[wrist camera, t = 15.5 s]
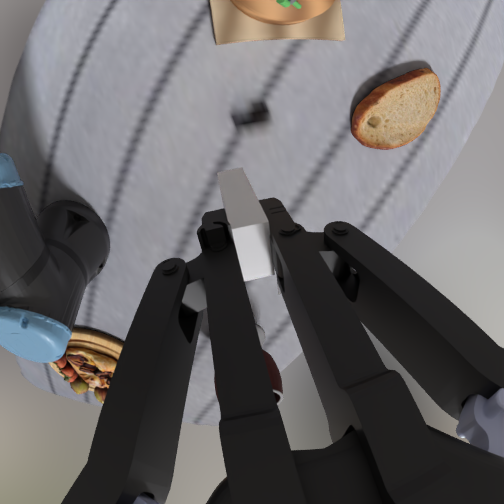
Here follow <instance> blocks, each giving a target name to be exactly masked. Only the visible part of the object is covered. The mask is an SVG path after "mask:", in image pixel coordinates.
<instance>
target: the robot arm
mask: <svg viewBox="0 0 504 504" xmlns="http://www.w3.org/2000/svg"><path fill="white" fill-rule="evenodd" d="M217 175H218V180H219V185H220V190H221V195H222V200H223V205H224V209H219V210H215V211H210V212H206V213H205V214H204V216H203V217H202V225H201V226H200V227H199V228H198V230H197V235H198V239H199V242H200V246H201V249H202V253H201V254H200V255H199V256H198V257H196V258H195V259H193V260H191V261H189V262H187V263H185V261H184V260H182V259H180V258H171V259H167V260H165V261H163V262H161V263H160V264H159V265H157V267H156V268H155V270H154V272H153V274H152V276H151V279H150V281H149V283H148V285H147V288H146V290H145V292H144V295H143V297H142V299H141V302H140V304H139V307H138V309H137V312H136V314H135V316H134V319H133V321H132V324H131V327H130V329H129V332H128V334H127V337H126V339H125V342H124V345H123V347H122V350H121V353H120V356H119V358H118V361H117V364H116V367H115V370H114V373H113V376H112V378H111V381H110V384H109V388H108V391H107V394H106V397H105V400H104V403H103V406H102V410H101V413H100V416H99V420H98V424H97V427H96V430H95V434H94V438H93V441H92V446H91V449H90V453H89V457H88V462H87V464H86V465H85V467H84V468H83V470H82V471H81V473H80V475H79V476H78V478H77V479H76V481H75V482H74V484H73V486H72V487H71V489H70V490H69V492H68V494H67V495H66V496H65V498H64V500H63V501H62V503H61V504H164V503H165V501H166V499H167V496H168V493H169V491H170V487H171V482H172V478H173V473H174V466H175V459H176V454H177V448H178V441H179V435H180V429H181V424H182V418H183V412H184V407H185V401H186V396H187V391H188V385H189V380H190V375H191V370H192V365H193V360H194V355H195V350H196V345H197V340H198V335H199V330H200V326H201V321H202V316H203V309H205V308H207V312H208V322H209V330H210V339H211V347H212V355H213V363H214V370H215V378H216V385H217V392H218V398H219V405H220V411H221V420H220V422H219V432H220V439H221V446H222V451H223V457H224V463H225V468H226V473H227V477H226V478H225V479H224V480H223V481H222V482H221V483H220V484H219V485H218V486H217V487H216V489H215V490H214V492H213V493H212V495H211V496H210V498H209V500H208V501H207V503H206V504H504V348H502V347H500V346H498V345H497V344H496V343H495V342H494V341H493V340H492V339H491V338H490V337H489V336H488V335H487V334H486V333H485V332H484V331H483V330H482V329H481V328H480V327H479V326H477V325H476V324H475V323H474V322H473V321H472V320H471V319H470V318H469V317H468V316H467V315H466V314H464V313H463V312H462V311H461V310H460V309H459V308H458V307H457V306H455V305H454V304H453V303H452V302H451V301H450V300H448V299H447V298H446V297H445V296H444V295H443V294H441V293H440V292H439V291H438V290H437V289H435V288H434V287H433V286H432V285H431V284H429V283H428V282H427V281H426V280H425V279H423V278H422V277H421V276H420V275H418V274H417V273H416V272H415V271H413V270H412V269H411V268H410V267H408V266H407V265H406V264H404V263H403V262H402V261H400V260H399V259H398V258H397V257H395V256H394V255H392V254H391V253H390V252H389V251H387V250H386V249H385V248H383V247H382V246H381V245H379V244H378V243H377V242H375V241H374V240H372V239H371V238H370V237H368V236H367V235H366V234H364V233H363V232H361V231H360V230H359V229H357V228H356V227H354V226H353V225H351V224H349V223H347V222H342V221H336V222H331V223H329V224H327V225H326V226H325V228H324V232H307V231H306V230H305V229H304V227H302V226H301V225H300V224H297V223H294V221H293V220H292V218H291V217H290V215H289V213H288V212H287V211H286V209H285V207H284V206H283V204H282V202H281V201H280V200H278V199H276V198H274V197H273V198H268V199H263V200H258V199H257V196H256V194H255V192H254V190H253V188H252V186H251V184H250V182H249V180H248V178H247V176H246V174H245V172H244V170H243V168H237V169H232V170H227V171H222V172H217ZM23 185H24V184H23V181H21V179H20V177H19V175H18V172H17V170H16V167H15V164H14V161H13V159H12V158H11V157H10V156H9V155H8V154H5V153H0V345H1V346H3V347H4V348H5V349H7V350H8V351H10V352H12V353H14V354H15V355H17V356H20V357H22V358H24V359H27V360H31V361H35V362H42V363H47V362H54V361H56V360H58V359H60V358H61V357H62V356H63V354H64V353H65V350H66V347H67V344H68V341H69V340H70V338H71V336H72V331H73V327H74V324H75V320H76V317H77V313H78V310H79V307H80V304H81V300H82V297H83V294H84V291H85V288H86V286H87V285H88V284H89V283H90V282H91V281H92V280H93V279H94V278H95V277H96V276H97V275H98V274H99V273H100V272H101V270H102V269H103V267H104V266H105V264H106V261H107V258H108V255H109V252H110V239H109V235H108V232H107V230H106V227H105V226H104V224H103V222H102V221H101V219H100V218H99V217H98V216H97V215H96V214H95V213H94V212H93V211H92V210H90V209H89V208H88V207H86V206H84V205H82V204H80V203H77V202H74V201H66V200H65V201H57V202H54V203H52V204H50V205H49V206H47V207H46V208H45V209H44V210H43V211H42V212H41V214H40V215H39V216H38V218H37V219H35V216H34V214H33V212H32V209H31V206H30V204H29V201H28V198H27V196H26V193H25V190H24V187H23ZM274 268H275V271H276V274H277V284H278V294H279V295H280V294H281V293H282V296H283V299H284V301H285V304H286V307H287V309H288V312H289V314H290V317H291V320H292V323H293V325H294V328H295V331H296V333H297V336H298V339H299V341H300V344H301V347H302V349H303V352H304V355H305V358H306V360H307V363H308V366H309V368H310V371H311V374H312V377H313V379H314V382H315V385H316V387H317V390H318V393H319V396H320V399H321V402H322V404H323V407H324V409H325V412H326V415H327V419H328V423H329V431H330V435H331V439H332V442H333V444H331V445H330V446H328V447H326V448H324V449H313V450H294V451H291V449H290V445H289V442H288V438H287V435H286V431H285V428H284V424H283V421H282V418H281V414H280V411H279V409H278V406H277V402H276V399H275V395H274V392H273V388H272V384H271V381H270V377H269V373H268V370H267V366H266V362H265V358H264V355H263V351H262V347H261V343H260V340H259V336H258V332H257V328H256V325H255V321H254V317H253V313H252V309H251V306H250V302H249V298H248V294H247V290H246V286H245V282H244V281H249V280H253V279H258V278H262V277H266V276H271V275H275V273H274ZM352 268H353V269H352ZM354 269H355V270H356V271H355V270H354ZM361 322H362V323H363V324H364V325H365V326H366V327H367V328H368V329H369V330H370V332H371V333H372V334H373V335H374V336H375V337H376V338H377V339H378V340H379V341H380V342H381V343H382V344H383V345H384V347H385V348H386V349H387V350H388V351H389V352H390V353H391V354H392V355H393V356H394V357H395V358H396V359H397V361H398V362H399V363H400V364H401V365H402V366H403V367H404V368H405V369H406V370H407V372H408V373H409V374H410V375H411V376H412V377H413V378H414V379H415V380H416V381H417V382H418V384H419V385H420V386H421V387H422V388H423V389H424V390H425V391H426V393H427V394H428V395H429V396H430V397H431V398H432V399H433V400H434V401H435V402H436V404H437V405H438V406H439V407H441V409H443V410H444V411H445V412H446V413H448V414H449V415H450V416H451V417H453V418H455V419H456V420H458V421H459V424H458V425H457V428H456V433H457V435H458V436H459V437H462V438H464V437H465V438H466V439H467V440H468V441H469V442H470V444H469V443H466V442H464V441H462V440H459V439H457V438H455V437H452V436H450V435H448V434H446V433H444V432H441V431H439V430H437V429H435V428H433V427H430V426H429V425H426V423H425V421H424V419H423V417H422V415H421V413H420V411H419V409H418V407H417V405H416V403H415V401H414V399H413V397H412V395H411V393H410V391H409V389H408V387H407V385H406V383H405V381H404V380H403V378H402V377H401V375H400V374H399V373H398V372H396V371H395V370H388V369H387V368H386V367H385V365H384V364H383V362H382V360H381V358H380V356H379V354H378V352H377V351H376V349H375V347H374V345H373V343H372V341H371V340H370V338H369V336H368V334H367V332H366V330H365V329H364V327H363V325H362V324H361Z"/></svg>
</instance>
